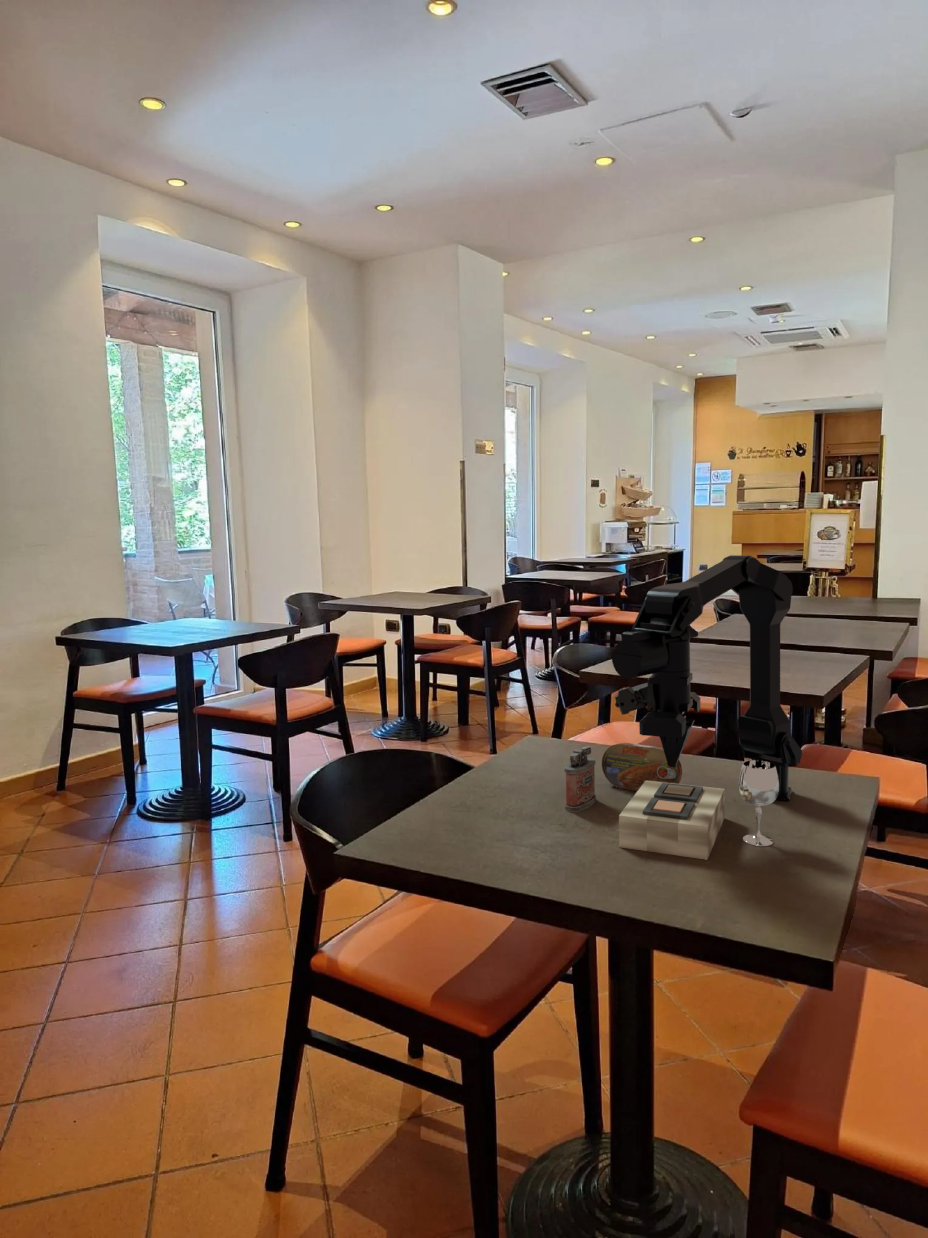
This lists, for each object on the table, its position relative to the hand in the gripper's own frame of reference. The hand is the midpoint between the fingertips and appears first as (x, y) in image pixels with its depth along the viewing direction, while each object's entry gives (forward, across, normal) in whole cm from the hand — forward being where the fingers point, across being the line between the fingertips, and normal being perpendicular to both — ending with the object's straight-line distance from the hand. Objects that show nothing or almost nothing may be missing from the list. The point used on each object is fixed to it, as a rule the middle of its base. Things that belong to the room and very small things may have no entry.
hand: (672, 766), depth 128 cm
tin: (+11, -19, -9) cm, 24 cm away
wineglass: (+11, -1, +13) cm, 17 cm away
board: (+11, 0, 0) cm, 11 cm away
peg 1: (+11, -4, 0) cm, 11 cm away
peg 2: (+11, +4, 0) cm, 11 cm away
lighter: (+11, -7, -17) cm, 22 cm away
